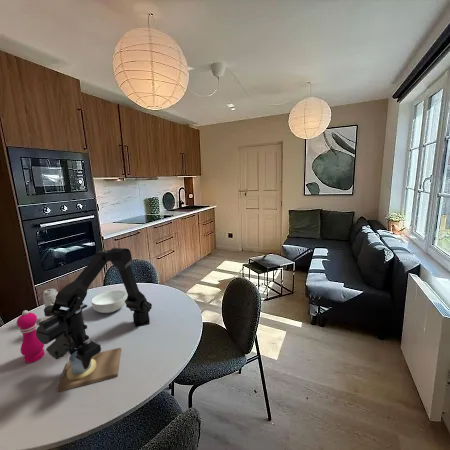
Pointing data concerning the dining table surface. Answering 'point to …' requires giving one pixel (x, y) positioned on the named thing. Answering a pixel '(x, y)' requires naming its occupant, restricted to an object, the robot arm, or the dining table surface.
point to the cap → (77, 364)
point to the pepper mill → (30, 337)
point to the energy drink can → (49, 296)
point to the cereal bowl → (109, 301)
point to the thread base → (93, 370)
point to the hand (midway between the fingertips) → (81, 365)
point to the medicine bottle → (47, 312)
